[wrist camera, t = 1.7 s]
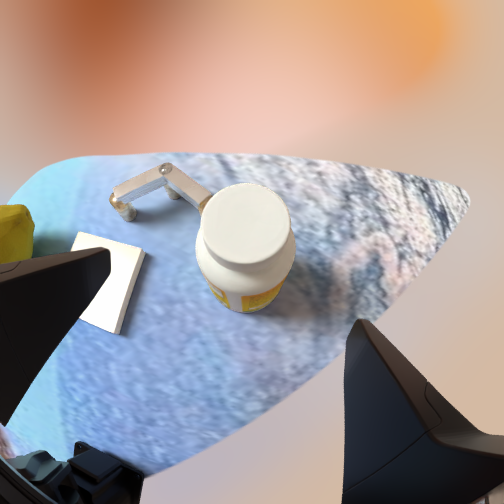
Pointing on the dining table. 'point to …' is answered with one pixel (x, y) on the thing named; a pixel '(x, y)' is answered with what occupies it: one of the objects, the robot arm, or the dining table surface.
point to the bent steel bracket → (152, 180)
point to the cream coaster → (112, 282)
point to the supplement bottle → (245, 246)
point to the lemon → (15, 233)
